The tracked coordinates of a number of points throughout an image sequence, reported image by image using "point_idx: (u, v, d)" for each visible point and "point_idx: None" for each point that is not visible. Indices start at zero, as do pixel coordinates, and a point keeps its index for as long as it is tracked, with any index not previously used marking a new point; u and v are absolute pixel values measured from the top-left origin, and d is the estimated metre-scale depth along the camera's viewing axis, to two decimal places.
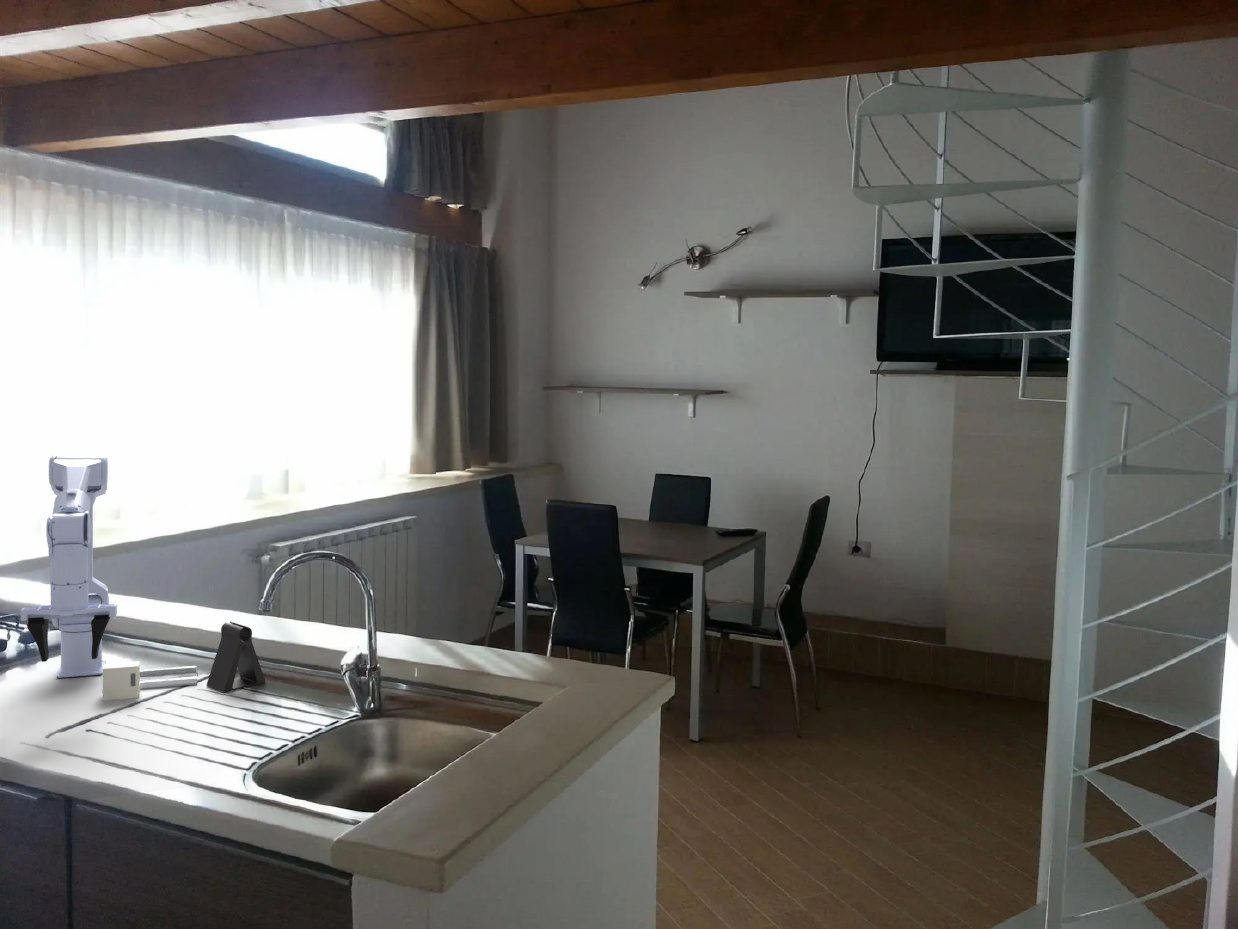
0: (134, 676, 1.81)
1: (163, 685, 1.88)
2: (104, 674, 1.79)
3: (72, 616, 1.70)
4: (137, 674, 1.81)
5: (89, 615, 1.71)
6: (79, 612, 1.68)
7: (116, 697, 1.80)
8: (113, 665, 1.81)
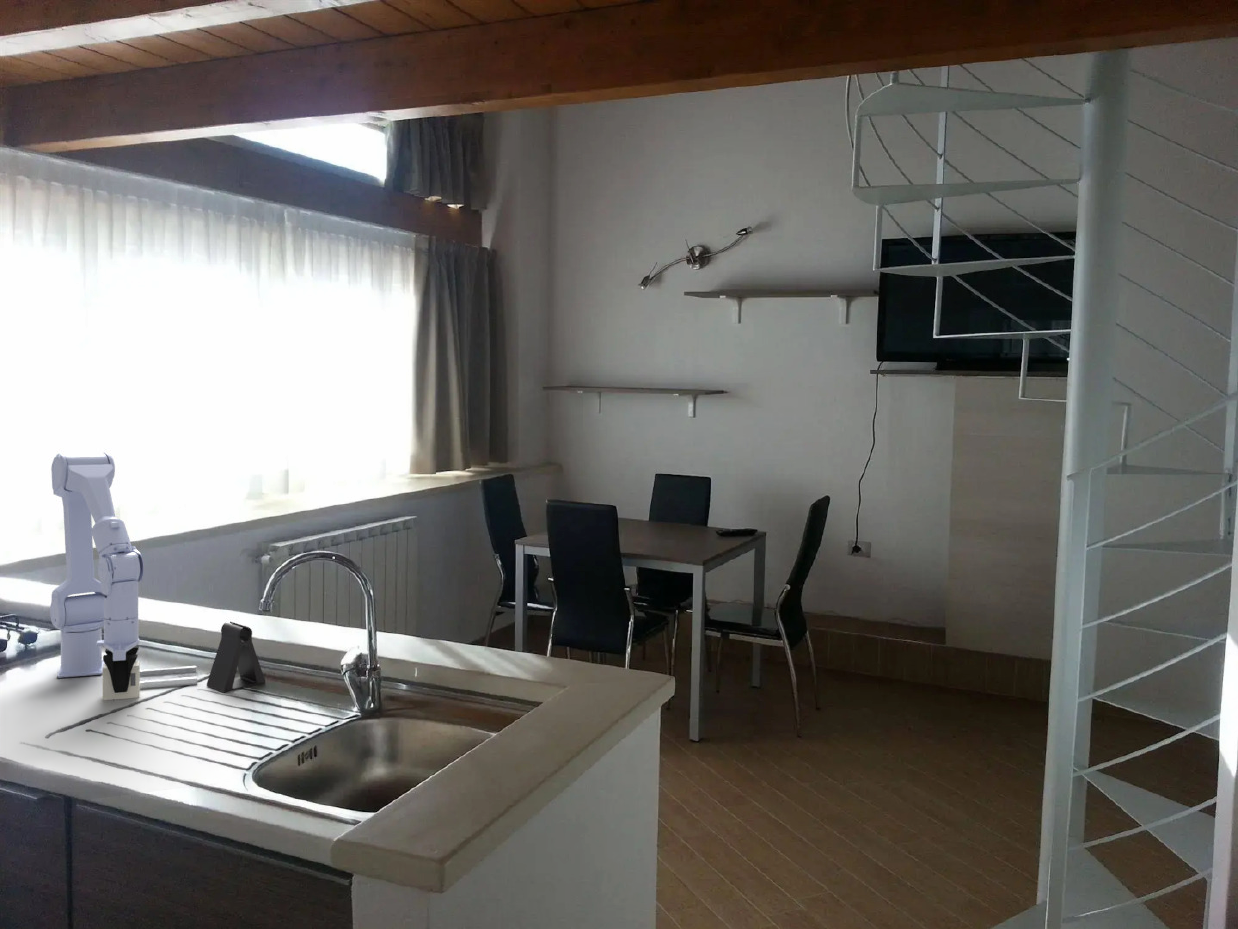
0: (134, 675, 1.81)
1: (163, 685, 1.88)
2: (104, 674, 1.79)
3: None
4: (137, 674, 1.81)
5: None
6: (105, 646, 1.78)
7: (116, 697, 1.80)
8: None
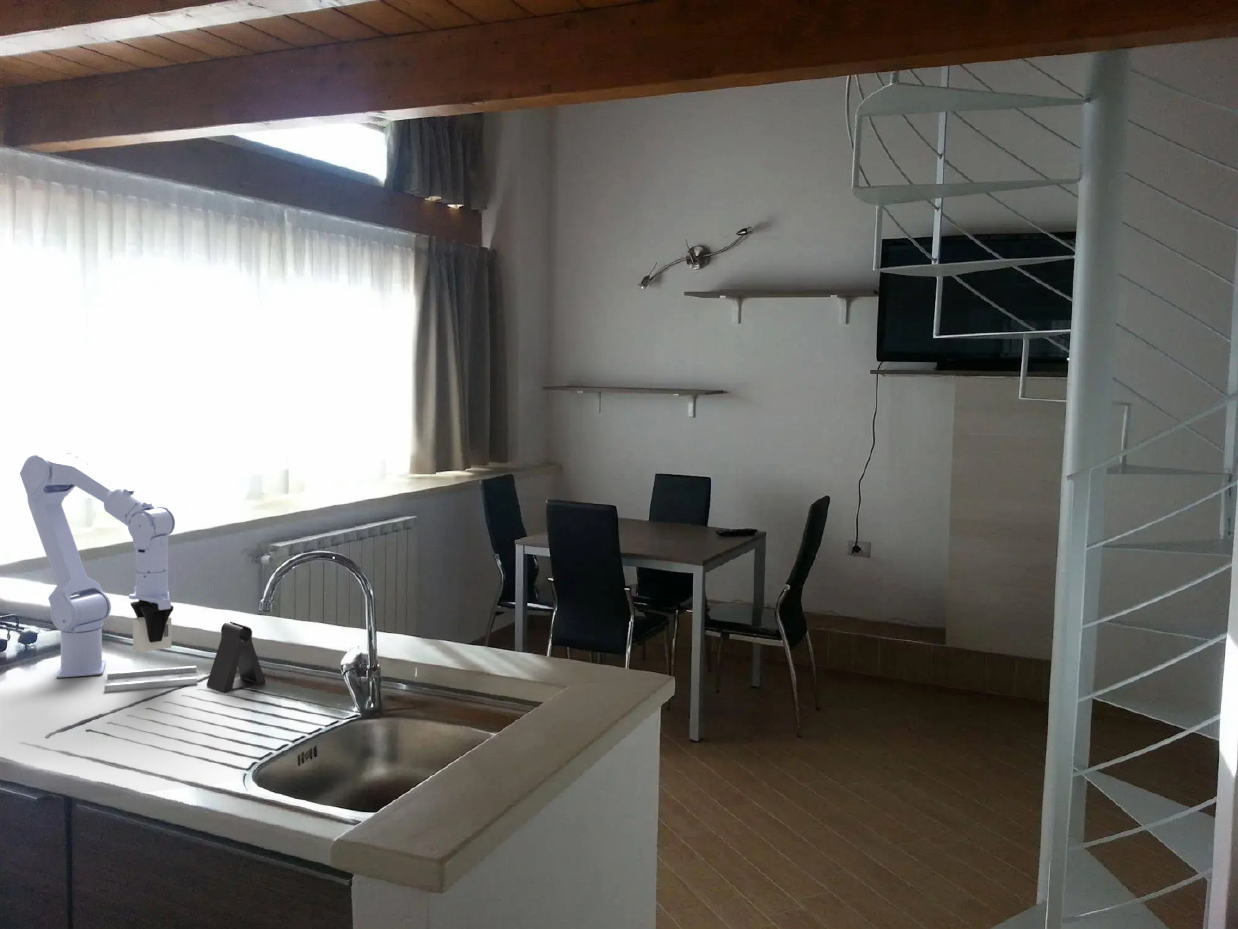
0: (167, 627, 1.91)
1: (163, 685, 1.88)
2: (140, 627, 1.87)
3: (150, 601, 1.89)
4: (169, 625, 1.91)
5: (155, 603, 1.88)
6: (141, 598, 1.87)
7: (151, 648, 1.89)
8: (143, 618, 1.90)
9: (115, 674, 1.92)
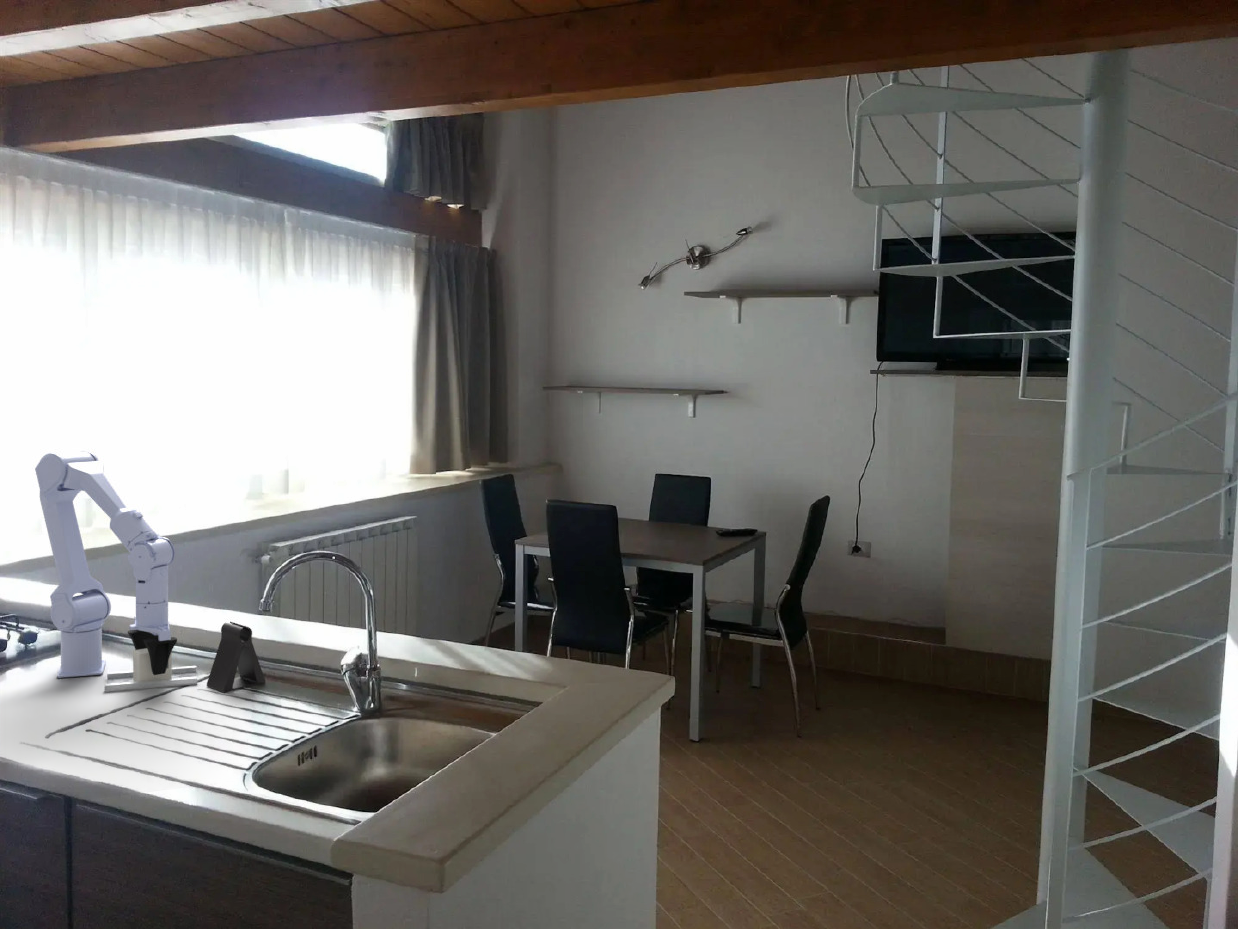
0: None
1: (163, 685, 1.88)
2: (141, 659, 1.88)
3: None
4: (170, 657, 1.92)
5: (155, 634, 1.88)
6: (141, 629, 1.87)
7: None
8: (144, 650, 1.90)
9: (115, 674, 1.92)
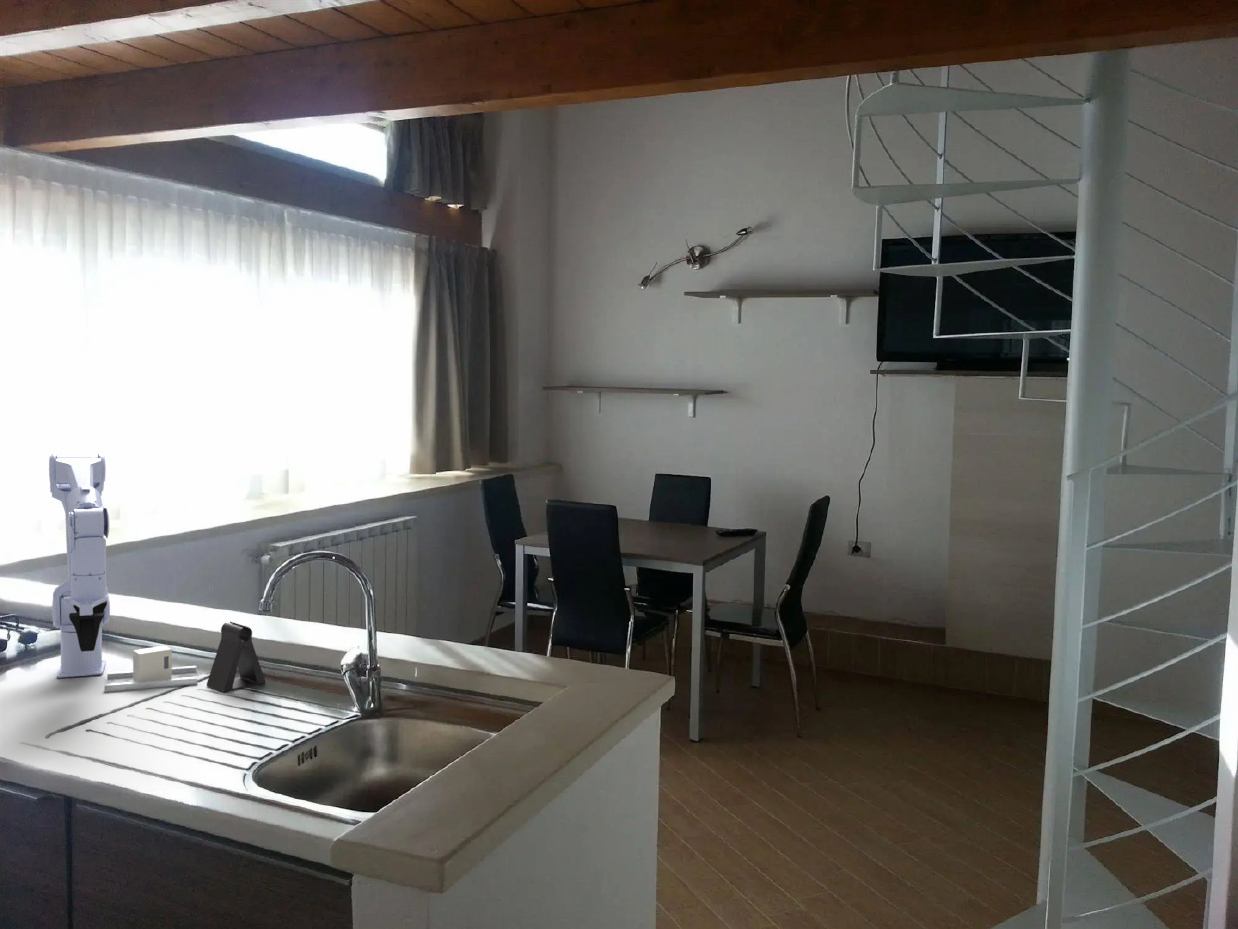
0: (167, 658, 1.91)
1: (163, 685, 1.88)
2: (141, 659, 1.88)
3: None
4: (170, 657, 1.92)
5: None
6: (72, 602, 1.78)
7: None
8: (144, 650, 1.90)
9: (115, 674, 1.92)
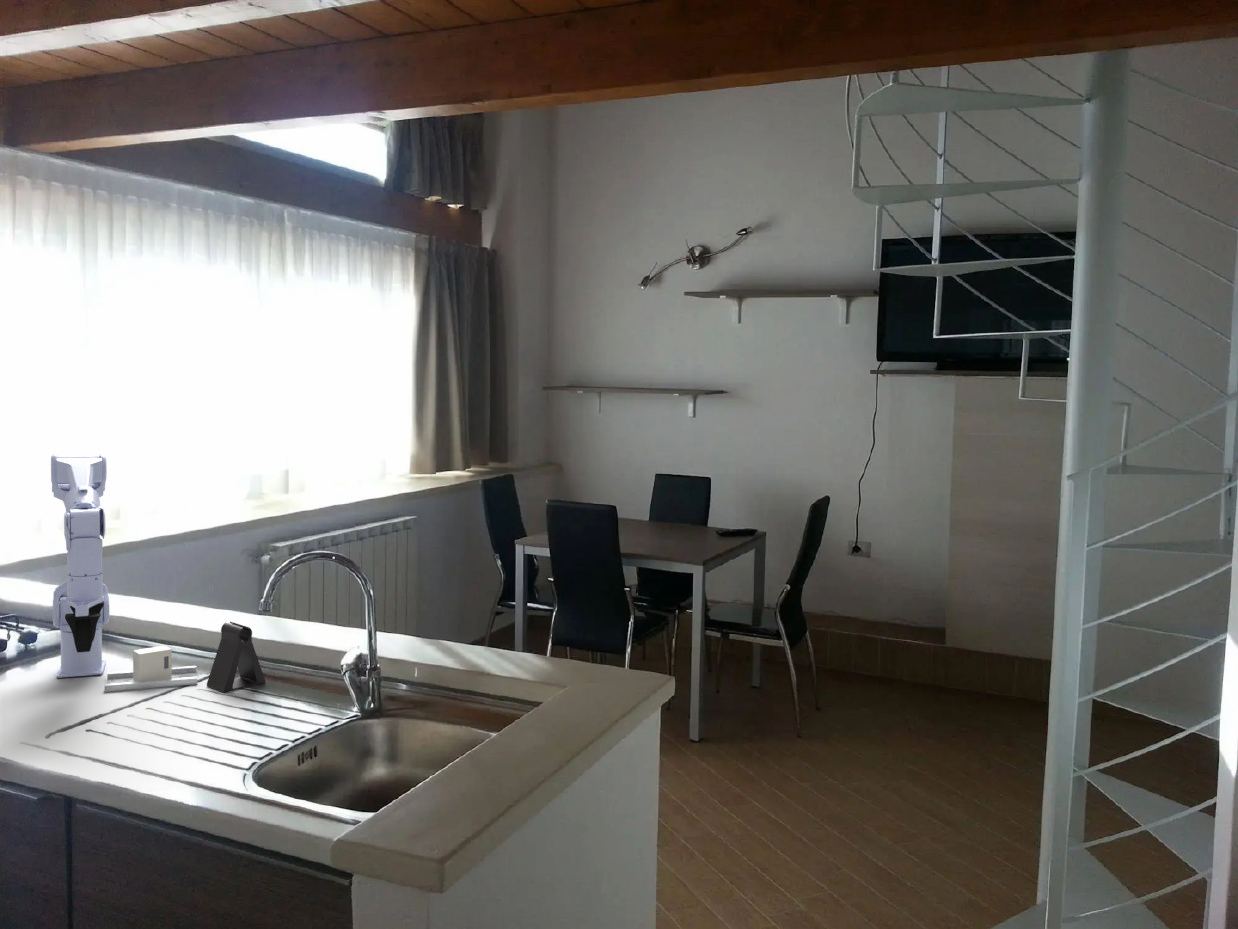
0: (167, 658, 1.91)
1: (163, 685, 1.88)
2: (141, 659, 1.88)
3: None
4: (170, 657, 1.92)
5: None
6: (68, 602, 1.77)
7: None
8: (144, 650, 1.90)
9: (115, 674, 1.92)
